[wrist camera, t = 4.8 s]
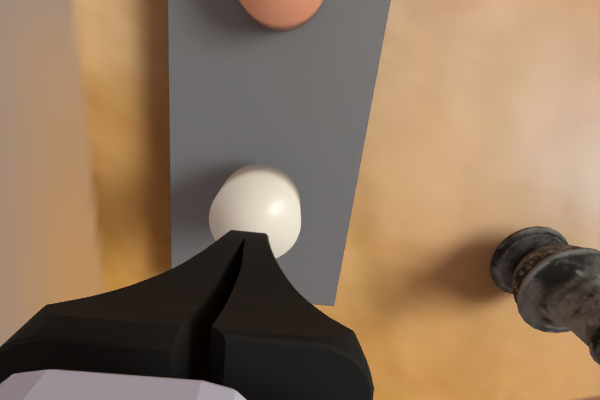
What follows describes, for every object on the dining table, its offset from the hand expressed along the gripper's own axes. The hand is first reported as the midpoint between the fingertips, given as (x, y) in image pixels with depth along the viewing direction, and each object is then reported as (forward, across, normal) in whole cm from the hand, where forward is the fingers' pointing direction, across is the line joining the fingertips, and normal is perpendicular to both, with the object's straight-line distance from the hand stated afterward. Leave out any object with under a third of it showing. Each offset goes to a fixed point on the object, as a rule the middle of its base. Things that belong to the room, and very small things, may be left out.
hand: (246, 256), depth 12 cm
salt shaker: (+10, -18, +4) cm, 21 cm away
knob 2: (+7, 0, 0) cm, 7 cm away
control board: (+10, 0, -5) cm, 11 cm away
